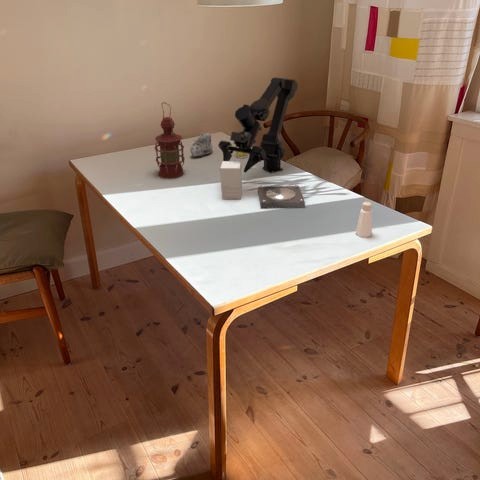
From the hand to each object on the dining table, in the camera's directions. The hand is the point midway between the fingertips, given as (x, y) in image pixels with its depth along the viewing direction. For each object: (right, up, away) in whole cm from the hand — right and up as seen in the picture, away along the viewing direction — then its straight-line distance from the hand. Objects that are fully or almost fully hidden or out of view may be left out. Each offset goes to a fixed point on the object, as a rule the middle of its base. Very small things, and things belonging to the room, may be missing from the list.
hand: (234, 169), depth 197 cm
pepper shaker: (+43, -25, -26) cm, 56 cm away
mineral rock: (-16, +13, +47) cm, 52 cm away
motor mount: (+18, -11, 0) cm, 21 cm away
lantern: (-27, +1, +25) cm, 36 cm away
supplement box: (-1, -9, +3) cm, 10 cm away
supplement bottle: (+3, +12, +44) cm, 46 cm away
